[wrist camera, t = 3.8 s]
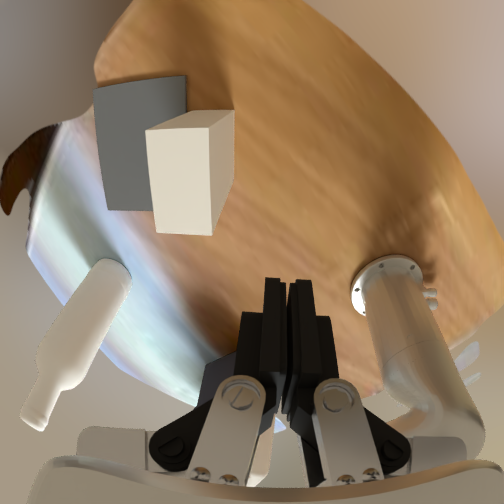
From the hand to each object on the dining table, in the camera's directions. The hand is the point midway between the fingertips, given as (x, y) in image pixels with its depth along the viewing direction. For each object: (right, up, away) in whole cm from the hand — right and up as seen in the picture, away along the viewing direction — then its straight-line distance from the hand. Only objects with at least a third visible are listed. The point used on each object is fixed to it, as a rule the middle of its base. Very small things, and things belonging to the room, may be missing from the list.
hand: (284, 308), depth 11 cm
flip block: (-6, +15, +23) cm, 28 cm away
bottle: (-25, -2, +36) cm, 44 cm away
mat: (-16, +16, +23) cm, 32 cm away
